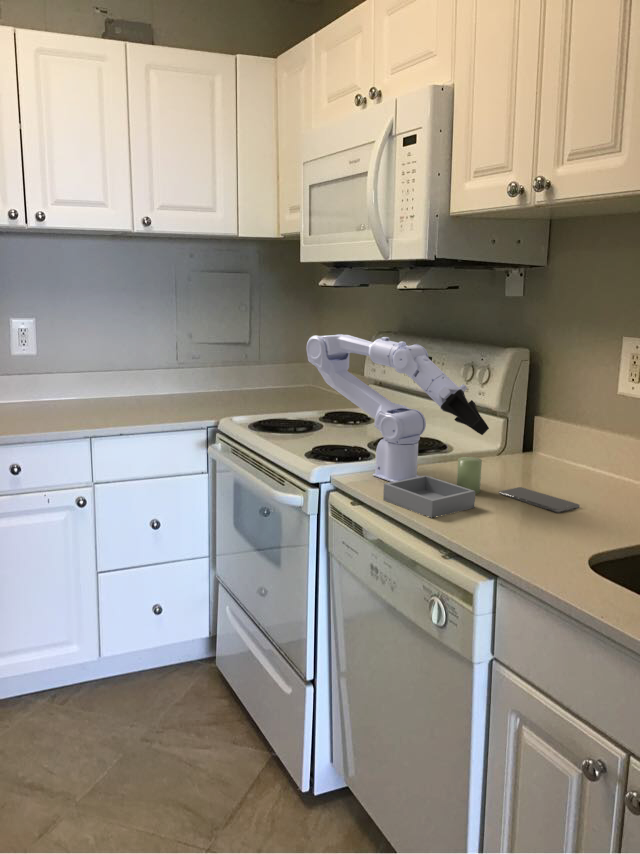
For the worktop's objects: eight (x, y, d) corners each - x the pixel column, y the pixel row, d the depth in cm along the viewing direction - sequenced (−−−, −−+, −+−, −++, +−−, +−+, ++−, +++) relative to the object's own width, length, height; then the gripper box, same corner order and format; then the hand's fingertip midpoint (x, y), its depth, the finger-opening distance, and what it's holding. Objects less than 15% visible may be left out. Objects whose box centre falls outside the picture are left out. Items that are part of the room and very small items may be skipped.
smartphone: (520, 486, 162) (581, 504, 148) (520, 491, 162) (581, 509, 149) (497, 491, 158) (557, 510, 144) (496, 496, 158) (557, 515, 145)
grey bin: (383, 500, 152) (383, 483, 151) (425, 490, 159) (425, 475, 158) (431, 518, 141) (432, 500, 140) (474, 507, 148) (475, 491, 147)
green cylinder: (451, 489, 160) (453, 458, 158) (467, 486, 163) (469, 455, 161) (468, 495, 156) (470, 463, 154) (484, 491, 159) (486, 460, 157)
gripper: (440, 361, 150) (486, 404, 144) (459, 381, 163) (502, 421, 156) (416, 386, 151) (460, 430, 145) (437, 404, 164) (478, 445, 157)
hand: (480, 427), depth 151 cm, fingers open, 7 cm apart
